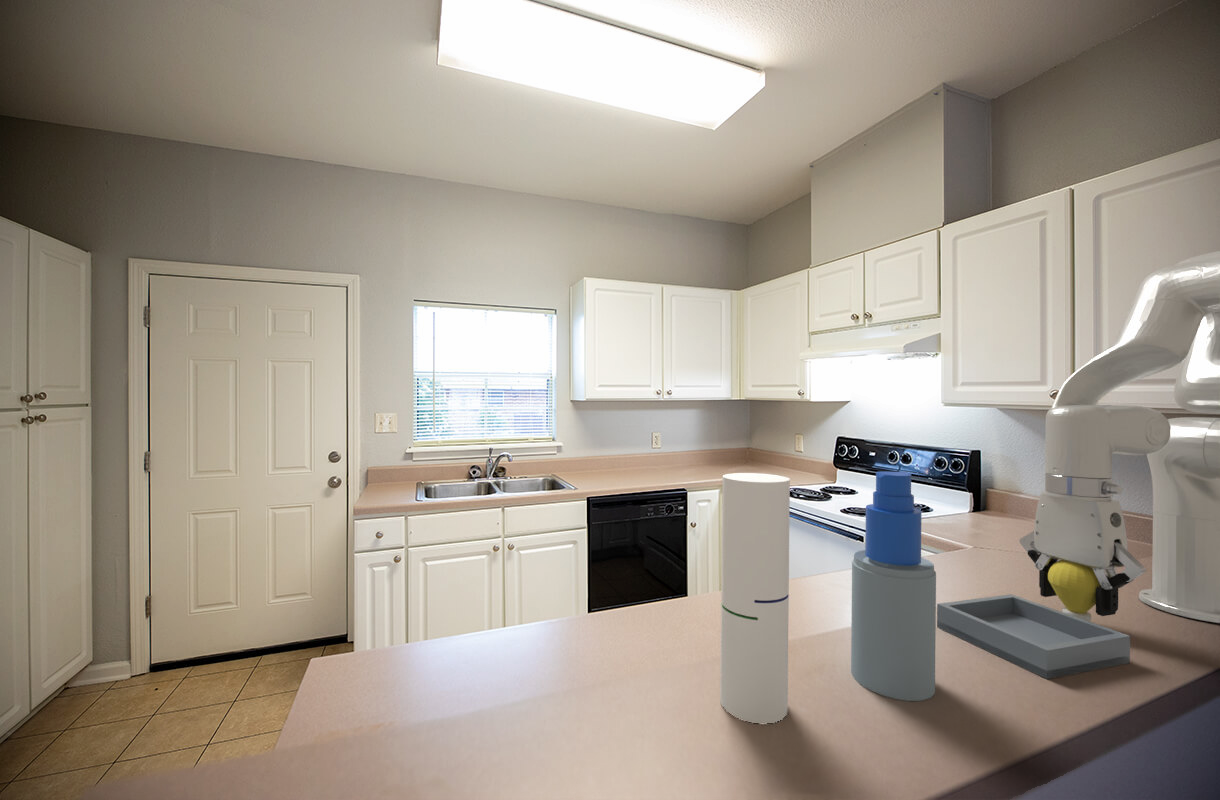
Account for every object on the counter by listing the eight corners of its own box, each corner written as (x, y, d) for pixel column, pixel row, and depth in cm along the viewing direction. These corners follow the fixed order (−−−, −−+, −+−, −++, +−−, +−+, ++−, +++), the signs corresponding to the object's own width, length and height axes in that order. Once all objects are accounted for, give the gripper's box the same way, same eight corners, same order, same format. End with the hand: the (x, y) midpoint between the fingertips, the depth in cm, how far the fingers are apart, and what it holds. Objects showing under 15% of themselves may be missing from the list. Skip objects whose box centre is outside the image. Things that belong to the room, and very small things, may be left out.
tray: (1010, 616, 81) (1011, 594, 81) (1129, 662, 67) (1130, 635, 67) (936, 627, 77) (937, 603, 77) (1047, 679, 63) (1047, 650, 63)
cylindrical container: (797, 725, 53) (799, 482, 53) (727, 723, 53) (729, 481, 53) (776, 687, 60) (778, 473, 60) (714, 685, 60) (717, 472, 61)
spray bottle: (910, 662, 66) (912, 468, 66) (952, 702, 57) (954, 478, 58) (839, 659, 67) (841, 467, 67) (869, 699, 58) (872, 477, 58)
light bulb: (1036, 614, 82) (1037, 551, 82) (1082, 617, 81) (1083, 553, 81) (1069, 633, 75) (1069, 565, 75) (1119, 636, 75) (1120, 567, 75)
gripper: (1168, 496, 71) (1167, 625, 71) (1034, 478, 88) (1033, 583, 88) (1132, 498, 69) (1131, 632, 69) (1001, 479, 86) (1000, 587, 86)
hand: (1076, 603), depth 78 cm, fingers closed on light bulb, 6 cm apart
